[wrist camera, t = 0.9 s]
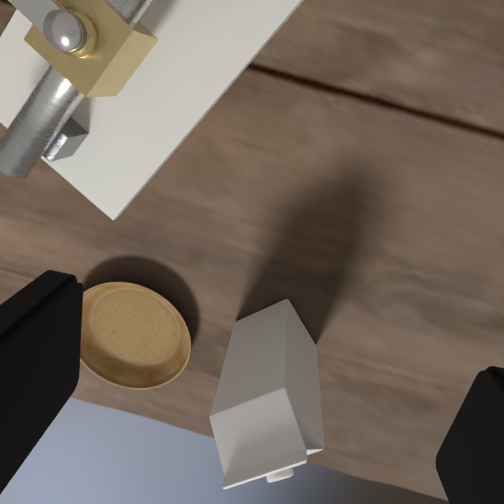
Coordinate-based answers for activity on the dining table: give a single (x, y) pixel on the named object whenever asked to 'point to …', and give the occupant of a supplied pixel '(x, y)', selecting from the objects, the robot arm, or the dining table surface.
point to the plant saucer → (132, 336)
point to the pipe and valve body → (75, 81)
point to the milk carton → (267, 398)
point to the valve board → (147, 90)
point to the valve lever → (54, 23)
